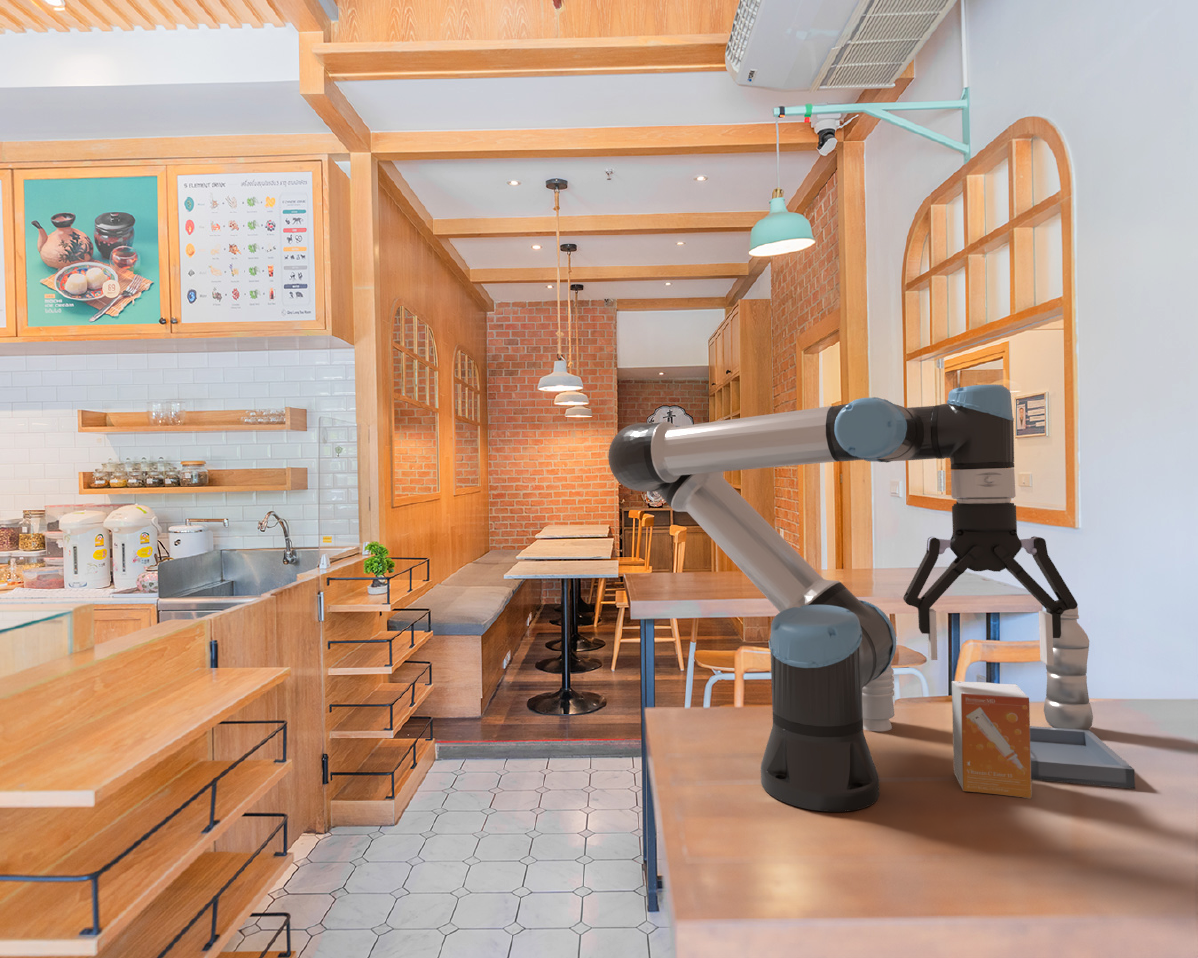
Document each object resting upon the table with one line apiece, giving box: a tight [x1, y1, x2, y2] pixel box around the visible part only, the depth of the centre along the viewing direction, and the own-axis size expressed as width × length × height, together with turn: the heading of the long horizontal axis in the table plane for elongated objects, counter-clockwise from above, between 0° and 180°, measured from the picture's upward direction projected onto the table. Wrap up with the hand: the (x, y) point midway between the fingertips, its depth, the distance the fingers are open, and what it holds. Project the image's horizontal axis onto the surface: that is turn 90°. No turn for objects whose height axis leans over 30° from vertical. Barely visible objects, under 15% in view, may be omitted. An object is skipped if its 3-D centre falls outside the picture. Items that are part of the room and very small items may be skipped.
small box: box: [951, 680, 1032, 800], centre depth 91 cm, size 8×6×13 cm
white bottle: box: [862, 662, 895, 732], centre depth 115 cm, size 7×7×15 cm
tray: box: [1030, 725, 1136, 789], centre depth 98 cm, size 12×15×2 cm
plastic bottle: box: [1043, 606, 1094, 730], centre depth 111 cm, size 6×7×20 cm
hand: (988, 660), depth 91 cm, fingers open, 13 cm apart
